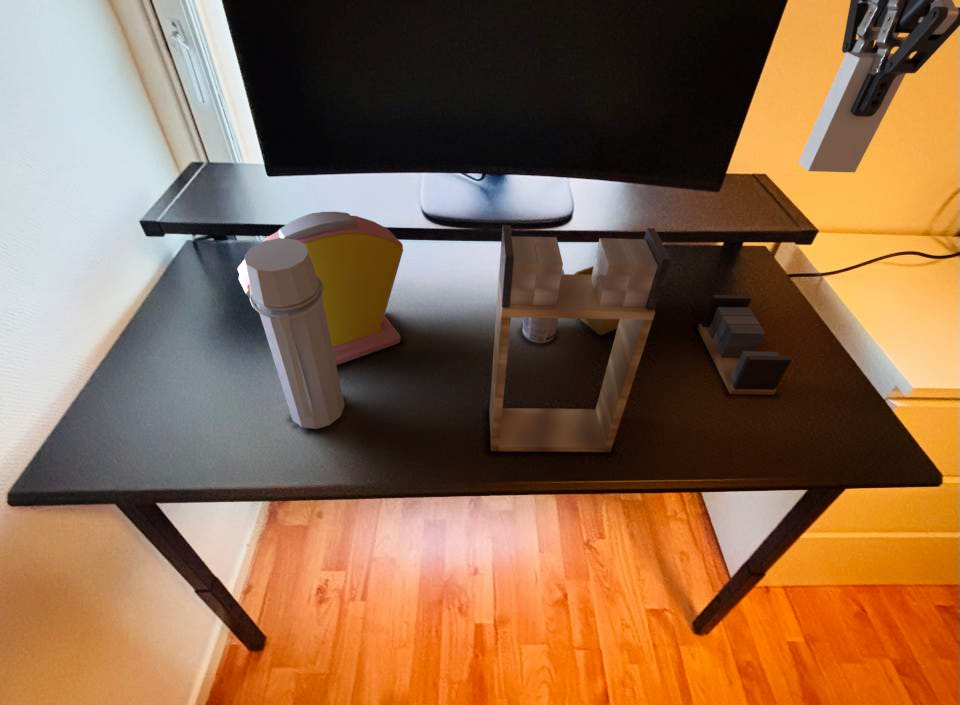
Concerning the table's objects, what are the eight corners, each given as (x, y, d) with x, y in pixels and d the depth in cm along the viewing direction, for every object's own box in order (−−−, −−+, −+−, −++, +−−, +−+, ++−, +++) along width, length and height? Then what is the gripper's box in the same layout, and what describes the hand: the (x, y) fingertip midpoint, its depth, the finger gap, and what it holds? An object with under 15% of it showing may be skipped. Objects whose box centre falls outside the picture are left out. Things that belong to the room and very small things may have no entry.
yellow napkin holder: (392, 307, 90) (380, 187, 76) (417, 338, 85) (409, 214, 70) (260, 350, 81) (218, 223, 67) (277, 388, 76) (236, 257, 61)
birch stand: (601, 413, 74) (637, 283, 59) (610, 452, 69) (653, 320, 55) (489, 412, 74) (498, 280, 59) (490, 451, 69) (501, 317, 54)
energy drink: (555, 324, 88) (565, 263, 80) (554, 345, 85) (565, 283, 76) (523, 321, 89) (530, 259, 81) (521, 342, 85) (528, 279, 77)
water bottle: (291, 395, 75) (243, 237, 58) (348, 389, 76) (318, 233, 59) (284, 447, 68) (228, 286, 51) (347, 440, 69) (312, 281, 52)
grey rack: (774, 394, 78) (794, 359, 73) (729, 394, 78) (747, 359, 73) (736, 329, 89) (751, 295, 85) (697, 328, 89) (710, 294, 84)
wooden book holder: (637, 283, 59) (653, 226, 55) (653, 320, 55) (672, 261, 50) (498, 280, 59) (502, 223, 54) (501, 317, 54) (505, 258, 49)
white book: (855, 172, 58) (913, 59, 50) (808, 171, 58) (859, 58, 50) (843, 163, 60) (898, 53, 52) (797, 162, 59) (846, 51, 52)
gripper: (1077, -111, 38) (932, 136, 50) (947, -113, 48) (852, 91, 60) (975, -116, 38) (853, 133, 49) (866, -117, 48) (786, 89, 60)
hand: (853, 109), depth 55 cm, fingers closed on white book, 2 cm apart
